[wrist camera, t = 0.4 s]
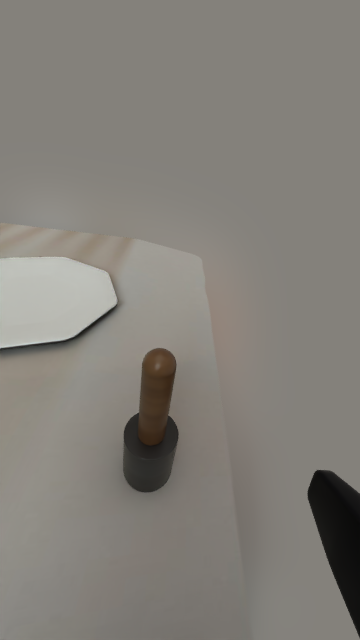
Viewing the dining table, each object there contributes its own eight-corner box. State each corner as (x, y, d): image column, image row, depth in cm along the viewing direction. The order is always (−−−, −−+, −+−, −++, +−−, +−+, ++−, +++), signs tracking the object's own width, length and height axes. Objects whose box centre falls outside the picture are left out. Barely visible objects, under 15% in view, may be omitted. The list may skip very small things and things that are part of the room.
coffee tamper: (170, 493, 21) (198, 382, 14) (119, 491, 21) (118, 376, 13) (171, 444, 25) (193, 333, 17) (127, 442, 24) (129, 327, 17)
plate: (-109, 372, 27) (-116, 361, 26) (-46, 267, 44) (-49, 258, 43) (128, 340, 35) (128, 331, 34) (103, 262, 53) (102, 255, 52)
